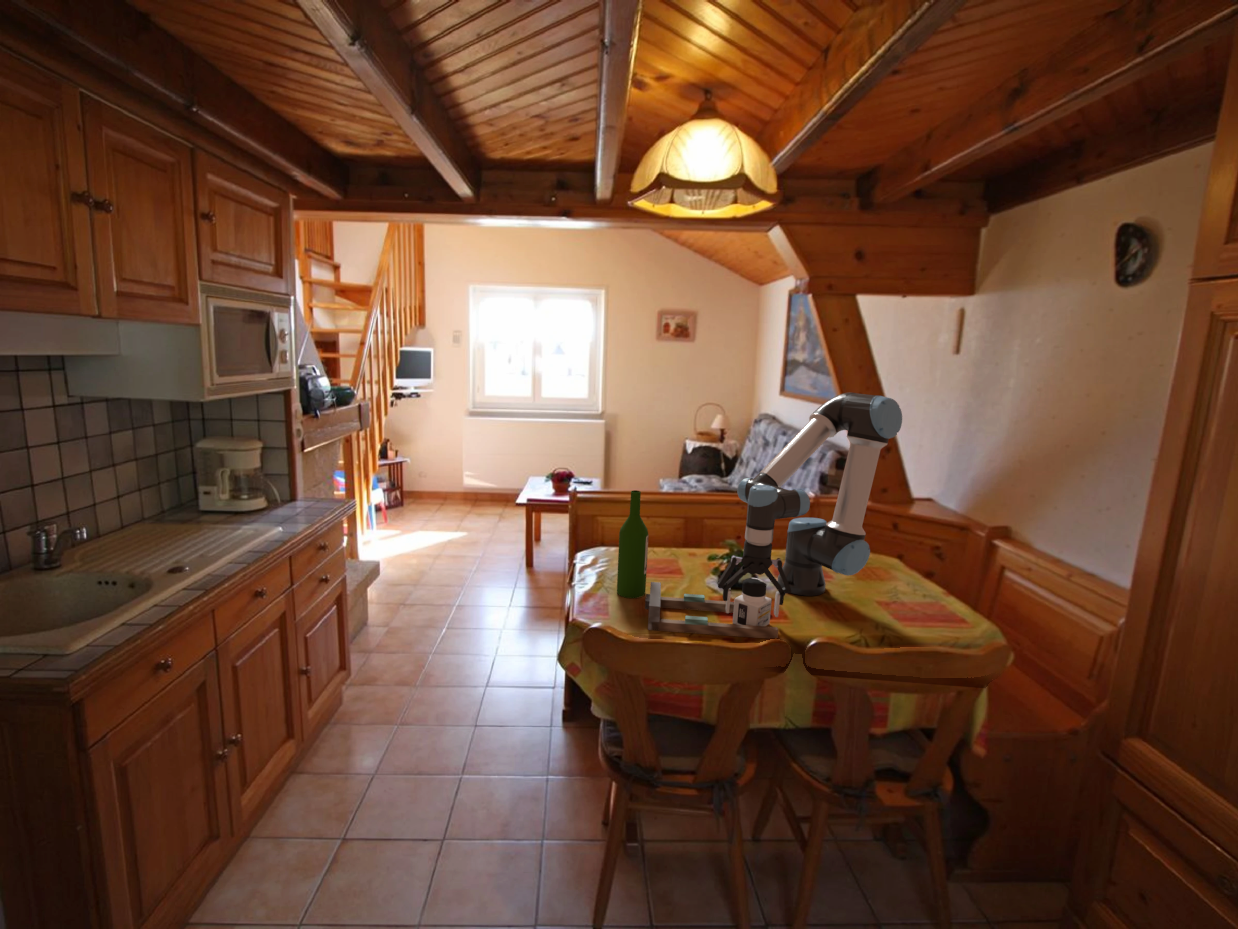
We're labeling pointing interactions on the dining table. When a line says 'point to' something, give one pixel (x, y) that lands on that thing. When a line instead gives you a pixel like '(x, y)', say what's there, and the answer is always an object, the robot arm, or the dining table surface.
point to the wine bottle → (632, 552)
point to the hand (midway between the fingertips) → (751, 613)
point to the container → (752, 604)
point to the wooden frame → (698, 623)
